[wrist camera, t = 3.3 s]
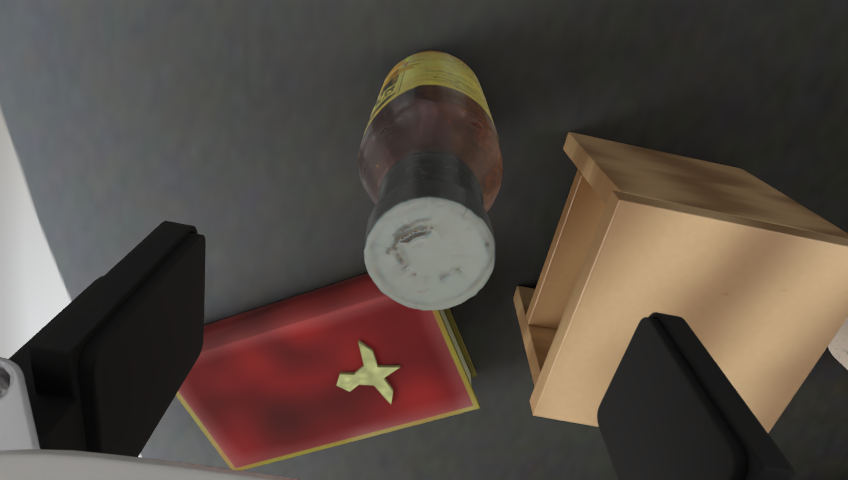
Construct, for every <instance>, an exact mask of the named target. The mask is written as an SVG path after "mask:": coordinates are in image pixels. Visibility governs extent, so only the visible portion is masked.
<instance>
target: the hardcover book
mask: <svg viewBox="0 0 848 480" xmlns="http://www.w3.org/2000/svg"><path fill="white" fill-rule="evenodd" d="M475 376H477V375H476V371H475V369H474V366H473V364H472V361H471V359H470V357H469V354H468V352H467V349H466V347H465V345H464V342H463V340H462V337H461V335H460V333H459V330H458V328H457V325H456V323H455V321H454V318H453V316H452V313H451V311H450V309H449V308H447V309H442V310H420V309H413V308H409V307H407V306H404V305H402V304H400V303H398V302H396V301H394V300H393V299H391V298H390V297H388V296H387V295H385V294H384V293H383V292H381V291H380V290H379V288H378V287H377V285H376V284H375V283H374V282H373V280H372V278H371V277H370V275H369V274H368V273H366V274H363V275H360V276H357V277H354V278H350V279H347V280H344V281H341V282H338V283H335V284H332V285H329V286H325V287H322V288H319V289H316V290H313V291H310V292H307V293H304V294H300V295H297V296H294V297H291V298H288V299H285V300H282V301H279V302H275V303H272V304H269V305H266V306H263V307H260V308H257V309H253V310H250V311H247V312H244V313H241V314H238V315H235V316H232V317H228V318H225V319H222V320H219V321H216V322H213V323H210V324H207V325H204V340H203V346H202V350H201V353H200V355H199V357H198V359H197V361H196V362H195V364H194V366H193V367H192V369H191V371H190V372H189V374H188V376H187V377H186V379H185V381H184V382H183V384H182V385H181V387H180V389H179V390H178V392H177V394H176V396H177V398H178V399H179V400H180V402H181V403H182V404H183V406H184V407H185V408H186V410H187V411H188V412H189V414H190V415H191V416H192V418H193V419H194V420H195V422H196V423H197V424H198V426H199V427H200V428H201V430H202V431H203V432H204V434H205V435H206V436H207V438H208V439H209V440H210V442H211V443H212V444H213V446H214V447H215V448H216V450H217V451H218V452H219V454H220V455H221V456H222V458H223V459H224V460H225V462H226V463H227V464H228V466H229V467H230V468H231V470H238V471H241V470H245V469H249V468H253V467H257V466H261V465H264V464H268V463H272V462H276V461H280V460H284V459H287V458H291V457H295V456H299V455H303V454H306V453H310V452H314V451H318V450H322V449H326V448H329V447H333V446H337V445H341V444H345V443H349V442H352V441H356V440H360V439H364V438H368V437H372V436H375V435H379V434H383V433H387V432H391V431H394V430H398V429H402V428H406V427H410V426H414V425H417V424H421V423H425V422H429V421H433V420H437V419H440V418H444V417H448V416H452V415H456V414H460V413H463V412H467V411H471V410H475V409H479V408H480V404H479V402H478V400H477V397H476V395H475V393H474V390H473V388H472V386H471V377H475Z"/></svg>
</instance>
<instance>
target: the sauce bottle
mask: <svg viewBox="0 0 848 480" xmlns="http://www.w3.org/2000/svg"><path fill="white" fill-rule="evenodd" d="M502 163H503V159H502V156H501V150H500V148H499V140H498V135H497V131H496V128H495V125H494V122H493V119H492V116H491V114H490V111H489V108H488V105H487V102H486V99H485V96H484V94H483V91H482V88H481V86H480V83H479V81H478V79H477V77H476V75H475V74H474V72H473V71H472V70H471V69H470V68H469V67H468V66H467V65H466V64H465V63H464V62H463V61H462V60H461V59H459V58H456V57H454V56H452V55H450V54H447V53H444V52H441V51H436V50H426V51H420V52H417V53H415V54H413V55H411V56H409V57H407V58H405V59H404V60H402V61H401V62H399V63H398V64H397V65H395V67H394V68H393V69H392V70H391V72H390V73H389V74H388V76H387V77H386V79H385V81H384V84H383V86H382V89H381V91H380V94H379V97H378V98H377V101H376V104H375V106H374V108H373V111H372V113H371V116H370V119H369V122H368V124H367V127H366V129H365V132H364V136H363V138H362V142H361V145H360V149H359V156H358V168H359V174H360V178H361V181H362V184H363V186H364V188H365V190H366V191H367V193H368V195H369V196H370V198H371V199H372V201H373V202H374V204H375V205H376V206H375V207H374V209H373V210H372V212H371V214H370V216H369V219H368V223H367V226H366V235H365V240H364V249H363V254H364V262H365V265H366V268H367V271H368V274H369V275H370V277H371V278H372V280H373V282H374V283H375V284H376V285H377V287H378V288H379V290H380V291H381V292H383V293H384V294H385V295H387V296H388V297H390V298H391V299H393V300H394V301H396V302H398V303H400V304H402V305H404V306H407V307H409V308H413V309H420V310H442V309H447V308H451V307H453V306H456V305H459V304H462V303H463V302H465V301H466V300H467V299H469V298H471V297H473V296H475V295H476V294H477V293H478V291H479V290H481V289H482V288H483V287H484V285H485V284H486V282H487V281H488V279H489V278H490V276H491V274H492V272H493V268H494V265H495V259H496V242H495V237H494V233H493V229H492V225H491V221H490V219H489V217H488V215H487V211H488V210H489V208H490V207H491V206H492V204H493V202H494V201H495V198H496V196H497V194H498V191H499V188H500V186H501V180H502V174H503V167H502Z"/></svg>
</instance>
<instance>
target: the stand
mask: <svg viewBox="0 0 848 480" xmlns="http://www.w3.org/2000/svg"><path fill="white" fill-rule="evenodd" d="M563 150H564V151H565V152H566V154H567V155H568V156H569V158H570V159H571V160H572V162H573V163H574V164H575V166H576V167H577V168H578V170H577V172H576V175H575V178H574V181H573V184H572V187H571V189H570V192H569V195H568V198H567V201H566V204H565V206H564V209H563V212H562V215H561V218H560V221H559V223H558V226H557V229H556V232H555V235H554V237H553V240H552V243H551V246H550V249H549V252H548V254H547V257H546V260H545V263H544V266H543V269H542V271H541V274H540V277H539V280H538V283H537V286H536V288H535V289H533V288H527V287H522V286H517V288H516V291H515V294H514V297H513V300H514V305H515V309H516V313H517V317H518V321H519V325H520V329H521V333H522V337H523V341H524V345H525V350H526V354H527V358H528V362H529V366H530V370H531V374H532V378H533V382H534V386H535V388H534V391H533V393H532V396H531V398H530V404H531V408H532V413H533V415H534V416H539V417H545V418H551V419H557V420H562V421H568V422H574V423H580V424H586V425H591V426H597V427H599V426H598V422H597V412H598V408H599V405H600V403H601V401H602V399H603V397H604V395H605V393H606V391H607V389H608V386H609V384H610V382H611V380H612V378H613V376H614V374H615V372H616V370H617V368H618V366H619V364H620V361H621V359H622V357H623V355H624V353H625V351H626V349H627V347H628V345H629V343H630V341H631V339H632V336H633V334H634V332H635V330H636V328H637V326H638V324H639V322H640V320H641V319H642V318H644V317H649V315H651V314H652V313H654V312H658V313H663V314H668V315H674V316H679V317H682V318H683V319H684V320H685V321H686V322H687V323H688V325H689V326H690V328H691V329H692V330H693V332H694V333H695V334H696V336H697V337H698V339H699V340H700V341H701V343H702V344H703V345H704V347H705V348H706V349H707V351H708V352H709V354H710V355H711V356H712V358H713V359H714V360H715V362H716V363H717V365H718V366H719V367H720V369H721V370H722V371H723V373H724V374H725V375H726V377H727V378H728V380H729V381H730V382H731V384H732V385H733V386H734V388H735V389H736V391H737V392H738V393H739V395H740V396H741V397H742V399H743V400H744V401H745V403H746V404H747V406H748V407H749V408H750V410H751V411H752V412H753V414H754V415H755V416H756V418H757V419H758V421H759V422H760V423H761V425H762V426H763V427H764V429H765V430H766V432H767V433H769V431H770V430H771V428H772V427H773V426H774V424H775V423H776V421H777V420H778V418H779V417H780V415H781V414H782V412H783V411H784V409H785V408H786V407H787V405H788V404H789V402H790V401H791V399H792V398H793V396H794V395H795V393H796V392H797V390H798V389H799V388H800V386H801V385H802V383H803V382H804V380H805V379H806V377H807V376H808V374H809V373H810V371H811V370H812V369H813V367H814V366H815V364H816V363H817V361H818V360H819V358H820V357H821V355H822V354H823V352H824V351H825V350H826V348H827V347H828V345H829V344H830V342H831V341H832V339H833V338H834V336H835V335H836V333H837V332H838V331H839V329H840V328H841V326H842V325H843V323H844V322H845V320H846V319H847V317H848V233H846V232H844V231H843V230H841V229H840V228H838V227H836V226H835V225H833V224H831V223H830V222H828V221H827V220H825V219H823V218H822V217H820V216H818V215H817V214H815V213H813V212H812V211H810V210H809V209H807V208H805V207H804V206H802V205H800V204H799V203H797V202H795V201H794V200H792V199H791V198H789V197H787V196H786V195H784V194H782V193H781V192H779V191H777V190H776V189H774V188H773V187H771V186H769V185H768V184H766V183H764V182H763V181H761V180H760V179H758V178H756V177H755V176H753V175H751V174H750V173H748V172H746V171H745V170H743V169H740V168H736V167H731V166H726V165H722V164H717V163H712V162H708V161H703V160H698V159H694V158H689V157H684V156H680V155H675V154H670V153H666V152H661V151H656V150H652V149H647V148H642V147H638V146H633V145H628V144H624V143H619V142H614V141H610V140H605V139H600V138H596V137H591V136H586V135H582V134H577V133H572V132H569V133H568V135H567V138H566V141H565V144H564V147H563Z"/></svg>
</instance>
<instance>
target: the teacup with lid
mask: <svg viewBox="0 0 848 480" xmlns="http://www.w3.org/2000/svg"><path fill="white" fill-rule="evenodd" d="M828 348H829V350H830V352H831V354H832V355H833V356H834V357H835V358H836V359H837V360H838V361H839V362H840V363H841V364H842V365H843V366H844V367H845V368H846V369H847V370H848V317H847V319H846V320H845V322H844V323H843V325H842V326H841V328H840V329H839V331H838V332H837V333H836V335H835V336H834V338H833V339H832V341H831V342H830V344H829V345H828Z"/></svg>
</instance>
